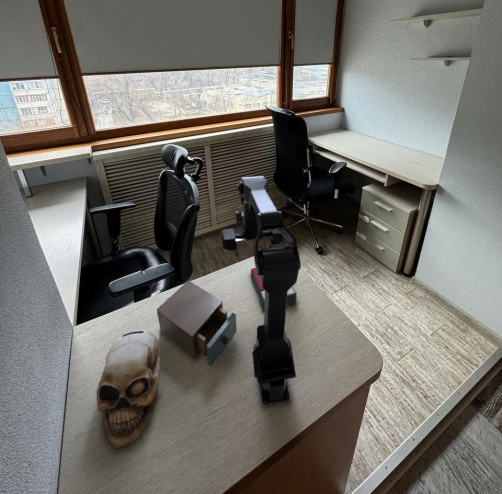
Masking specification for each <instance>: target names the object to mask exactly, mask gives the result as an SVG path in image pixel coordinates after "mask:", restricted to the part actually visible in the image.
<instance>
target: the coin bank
mask: <svg viewBox="0 0 502 494" xmlns="http://www.w3.org/2000/svg"><path fill="white" fill-rule="evenodd" d="M106 355H107V356H106V359H105V364H104V365H105V366H104V369H103V371H102V373H101V376H100V378H99V381H98V385H97V388H96V407H97V408H96V409H97V411H98V412H99V413H104V426H105V432H106V435H107V436H106V437H107V439H108V440H109V442H110V443H111V446H112V447H113V448H114V449H120V448H124V447H127V446H130V445H131V444H132V443H133V442H134V441H135V440H136V439H137V438H139V436H140V435H141V434H142V431H143V430H144V428H145V427H146V426H147V424H148V421H149V419H150V417H151V415H152V413H153V412H154V408H155V406H156V403H157V401H158V395H159V382H160V371H161V368H160V367H161V353H160V345H159V342H158V338H157V336H156V335H155V334H154V333H153V332H152V331H150V330H148V329H133V330H129V331H126V332H124V333H123V334H122V335H120V336H119V337H118V338H117V339H116V340H115V341H114V342H113V343H112V345H111V347H110V348H109V350H108V352H107V354H106Z"/></svg>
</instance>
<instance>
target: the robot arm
mask: <svg viewBox="0 0 502 494" xmlns="http://www.w3.org/2000/svg"><path fill="white" fill-rule="evenodd" d="M240 180H241V181H239V182H238V184H237V186H236V188H235V191H236V194H237V195H238V196H239V199H240V202H241V203H240V204H242V208H243V209H242V211H241V210H237V211H235V222H236V223H237V224H238V223H241V230H242V231H243V232H239V233H238V232H237V233H235V229H234V228H228V229H222V231H220V235H221V236H220V238H221V247H222V249H223V250H227V251H231V253H232V254H233V255H234V256H235V258H236V260H237V261H239V260H240V255H239V250H238V249H239V248H238V244H237V242H244V241H252V240H253V241H254V240H255V241H254V242H253V243H254V244H253V245H252V252H253V260H254V268H256V273H257V276H260V280H261V284H262V287H263V288H264V289H265V306H264V310H263V324H261V325H258V326H257V327H256V336H255V337H256V339H255V343H254V344H253V350H252V364H253V377H254V378H256V381H257V384H258V386H259V389H260V395H261V396H260V397H261V401H262V404H263V405H271V404H276V403H281V402H282V403H283V402H287V401H289V400H290V399H291V394H290V391H289V386H288V382H287V380H288V379H290V380H291V379H295V378H296V377H297V374H296V373H297V372H296V367H295V359H294V353H293V347H292V344H291V340H290V338H289V337H288V335H287V332H286V319H287V318H286V317H287V306H288V305H287V292H288V290H289V289H290V288H291V287H293V286H295V284H297V282H298V277H299V272H300V270H301V267H302V266H301V265H302V264H301V263H302V262H301V258H300V252H299V248H298V243H297V239H296V237H295V236H294V235H293V234H292V232H291V231H290V230H289V229H288V228H287V226H286V224H285V221H284V216H283V213H282V211H281V210H278V209H277V207H276V205H275V204H274V202H273V200H272V199H271V197H270V195H269V194H268V193H269V183H268V180H267V179H266V178H265V176H263V175H258V176H245V177H241V179H240ZM264 238H266V239H267V240H266V244H265V245H266V246H265V249H260V250H259V246H258V245H259V242H260V240H262V239H264ZM285 242H287V243H288V246H281V247H277V246H278V245H281V243H285Z"/></svg>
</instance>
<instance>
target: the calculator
mask: <svg viewBox="0 0 502 494" xmlns="http://www.w3.org/2000/svg"><path fill="white" fill-rule="evenodd" d="M250 278H251V280H252V282H253V285H254V288H255V290H256V293H257V296H258V298H259V302H260V305H261V308H262V310H263V311H264V306H265V289H264V288H263V287H262V284H261V280H260V276H257V273H256V267H252V268H250ZM296 303H297V292H296V291H295V288H294V287H293V286H292V287H291V288H290V289H289V290H288V292H287V305H286V306H289V305H293V304H296Z"/></svg>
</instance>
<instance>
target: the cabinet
mask: <svg viewBox="0 0 502 494" xmlns="http://www.w3.org/2000/svg"><path fill="white" fill-rule="evenodd" d="M219 307H220V308H221V309H223V310H224V302H223V300H221V299H220V298H218V297H217V296H215V295H214V294H212V293H210V292H208V291H207V290H205V289H204V288H202V287H200V286H199V285H197V284H196V283H194V282H192V281H191V280H189V279H188V280H187V281H186V282H185V283H184V284H183V285H182V286H180V287H179V288H178V289H177V290H176V291H174V293H173V294H172V295H171V296H169V297H168V298H167V299H166V300H165V301H164V302H162V304H161V305H160V306H159V307H158V308H156V314H157V320H158V324H159V325H158V326H159V330H160V333H162V334H163V335H164V336H165V337H166V338H168V339H169V340H170V341H171V342H172V343H174V344H175V345H177V346H178V347H179V348H180V349H181V350H182V351H184V352H185V353H186V354H187V355H188V356H190V357H191V358H192V359H194V360H196V359H197V358H198V356H199V355H201V354H200V353H199V352H197V351H196V344H195V335H196V334H197V333H198V331H199V330H200V329H201V328H202V327H203V326H204V324H205V323H206V322H207V321H208V320H209V319H210V317H211V316H212V315H213V314H214V313H215V312H216V310H217V309H218V308H219Z"/></svg>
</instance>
